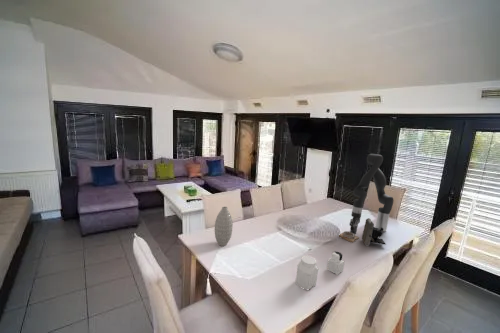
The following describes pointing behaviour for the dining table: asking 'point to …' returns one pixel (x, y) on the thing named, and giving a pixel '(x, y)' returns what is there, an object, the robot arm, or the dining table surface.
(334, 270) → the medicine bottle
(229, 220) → the vase
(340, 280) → the dining table surface
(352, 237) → the mount
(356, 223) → the lens
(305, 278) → the jar
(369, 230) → the vintage camera
